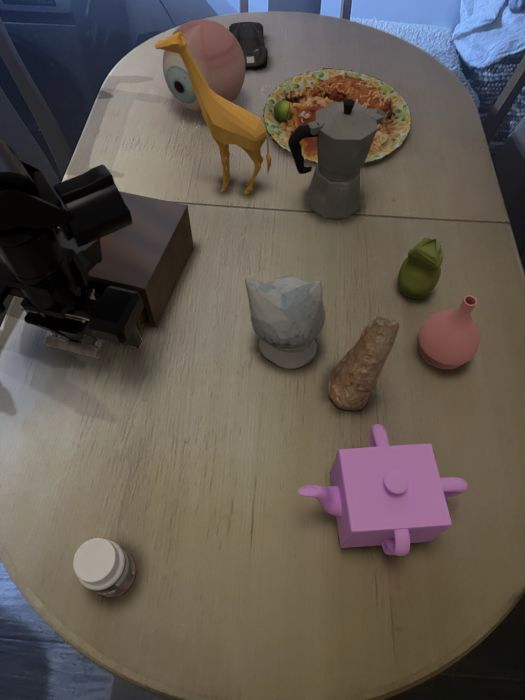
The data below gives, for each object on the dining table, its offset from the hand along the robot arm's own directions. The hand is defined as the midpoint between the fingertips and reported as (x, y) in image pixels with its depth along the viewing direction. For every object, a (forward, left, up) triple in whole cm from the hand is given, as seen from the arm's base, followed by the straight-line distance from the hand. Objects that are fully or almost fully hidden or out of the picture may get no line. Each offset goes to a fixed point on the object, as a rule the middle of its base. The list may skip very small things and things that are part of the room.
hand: (80, 339), depth 67 cm
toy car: (-1, +80, -5) cm, 80 cm away
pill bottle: (+15, -24, -5) cm, 29 cm away
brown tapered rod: (+35, +5, -5) cm, 36 cm away
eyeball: (-3, +59, -5) cm, 59 cm away
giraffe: (+7, +38, -5) cm, 39 cm away
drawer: (0, +7, -4) cm, 8 cm away
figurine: (+25, +10, -5) cm, 27 cm away
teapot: (+40, -9, -5) cm, 41 cm away
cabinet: (0, +15, -4) cm, 16 cm away
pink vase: (+46, +14, -5) cm, 48 cm away
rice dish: (+22, +61, -5) cm, 65 cm away
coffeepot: (+25, +39, -5) cm, 46 cm away
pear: (+41, +24, -5) cm, 48 cm away
